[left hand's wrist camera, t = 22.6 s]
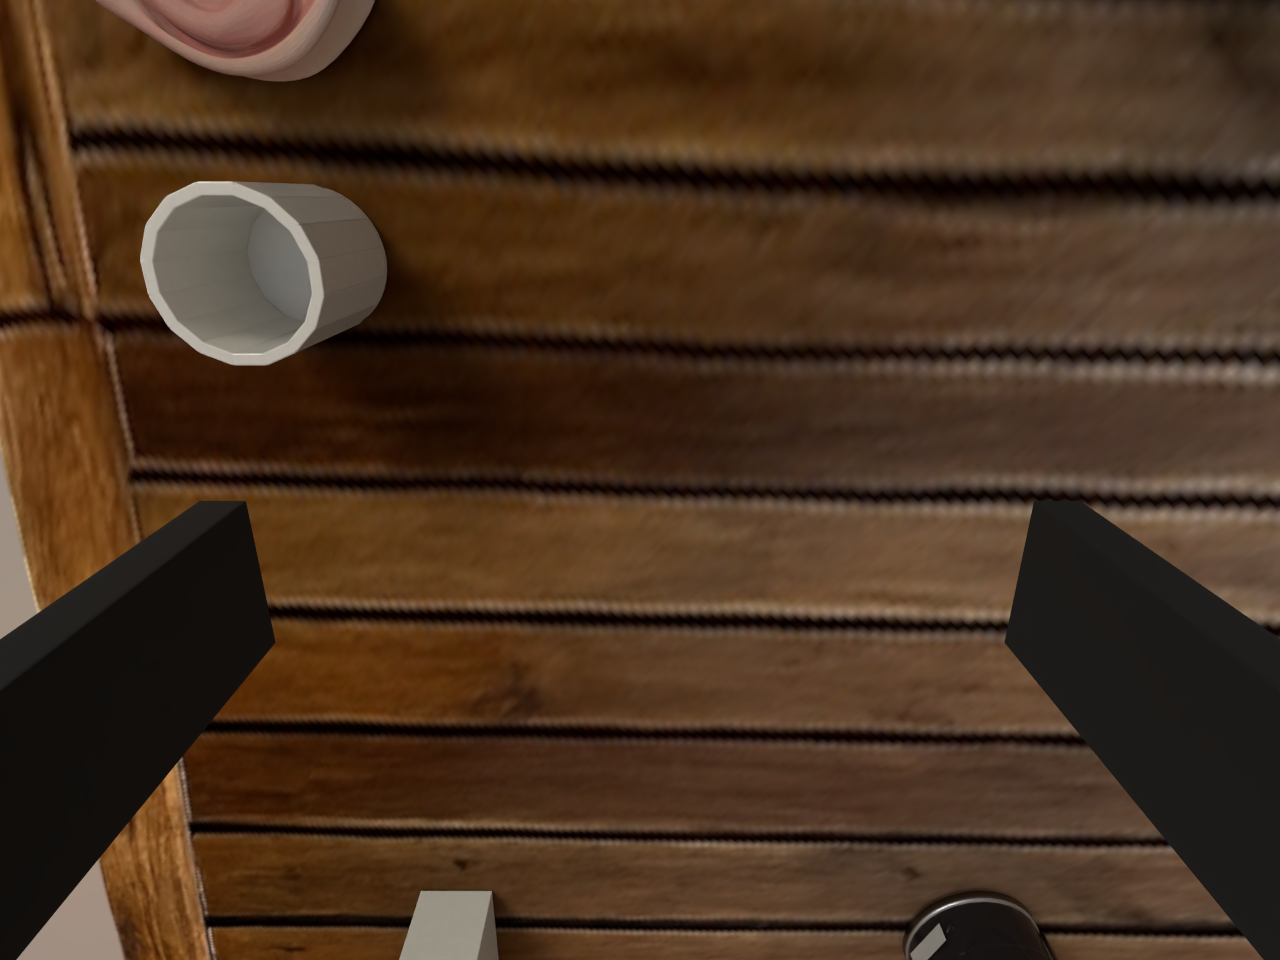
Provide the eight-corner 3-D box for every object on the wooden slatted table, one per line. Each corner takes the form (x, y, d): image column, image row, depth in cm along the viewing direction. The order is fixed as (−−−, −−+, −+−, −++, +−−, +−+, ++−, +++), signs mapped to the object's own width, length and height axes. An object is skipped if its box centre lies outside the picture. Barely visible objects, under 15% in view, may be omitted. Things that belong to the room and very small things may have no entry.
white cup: (377, 184, 35) (307, 181, 28) (395, 332, 38) (334, 365, 30) (231, 184, 35) (120, 181, 28) (258, 332, 38) (164, 365, 30)
